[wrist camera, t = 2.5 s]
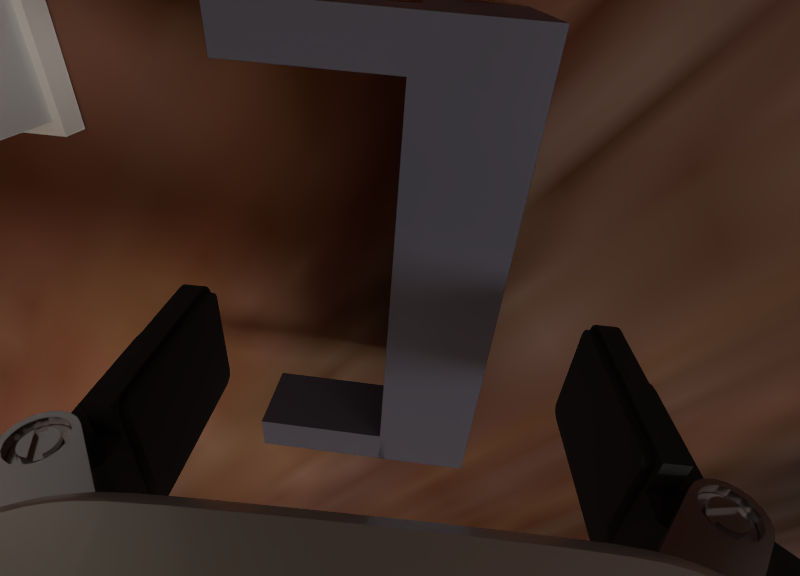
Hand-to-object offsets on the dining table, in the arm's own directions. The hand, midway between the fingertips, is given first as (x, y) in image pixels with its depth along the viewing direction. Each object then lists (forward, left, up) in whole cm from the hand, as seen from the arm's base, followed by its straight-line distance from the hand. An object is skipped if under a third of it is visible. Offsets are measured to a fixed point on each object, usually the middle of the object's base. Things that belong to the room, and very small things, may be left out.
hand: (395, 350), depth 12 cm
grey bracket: (+1, 0, -7) cm, 7 cm away
